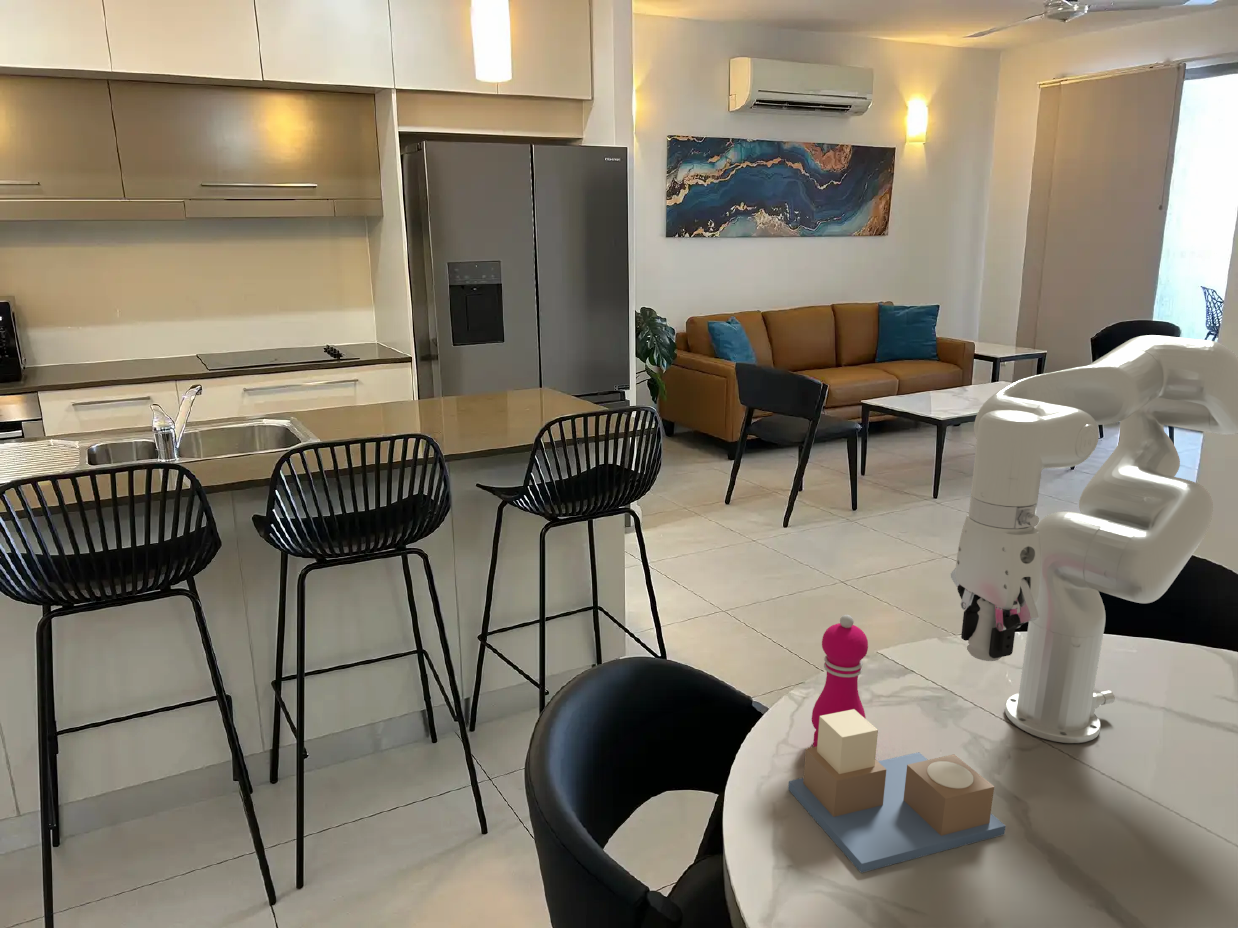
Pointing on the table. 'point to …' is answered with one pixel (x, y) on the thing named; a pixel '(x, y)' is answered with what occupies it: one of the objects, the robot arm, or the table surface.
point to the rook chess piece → (983, 631)
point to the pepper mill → (841, 670)
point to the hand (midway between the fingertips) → (986, 645)
